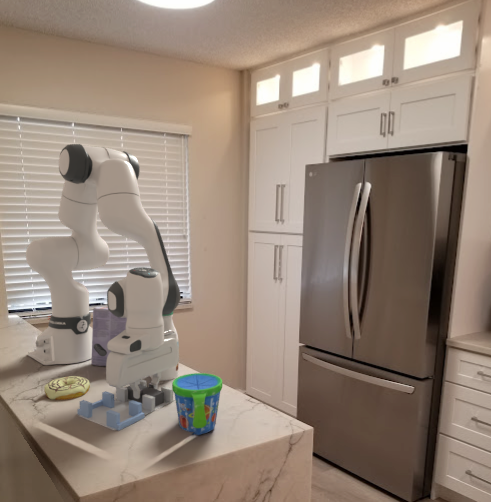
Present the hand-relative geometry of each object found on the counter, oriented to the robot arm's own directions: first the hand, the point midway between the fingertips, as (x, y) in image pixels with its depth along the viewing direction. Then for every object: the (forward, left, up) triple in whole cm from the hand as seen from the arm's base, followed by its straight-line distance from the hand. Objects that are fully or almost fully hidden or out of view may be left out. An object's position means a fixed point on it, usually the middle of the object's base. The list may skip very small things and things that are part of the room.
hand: (145, 394), depth 101 cm
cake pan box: (-27, +16, -3) cm, 31 cm away
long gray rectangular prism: (-1, 0, -2) cm, 2 cm away
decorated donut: (-21, -7, -3) cm, 22 cm away
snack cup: (+17, -2, -3) cm, 18 cm away
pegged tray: (-1, -5, -3) cm, 6 cm away
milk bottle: (-9, +15, -3) cm, 18 cm away
